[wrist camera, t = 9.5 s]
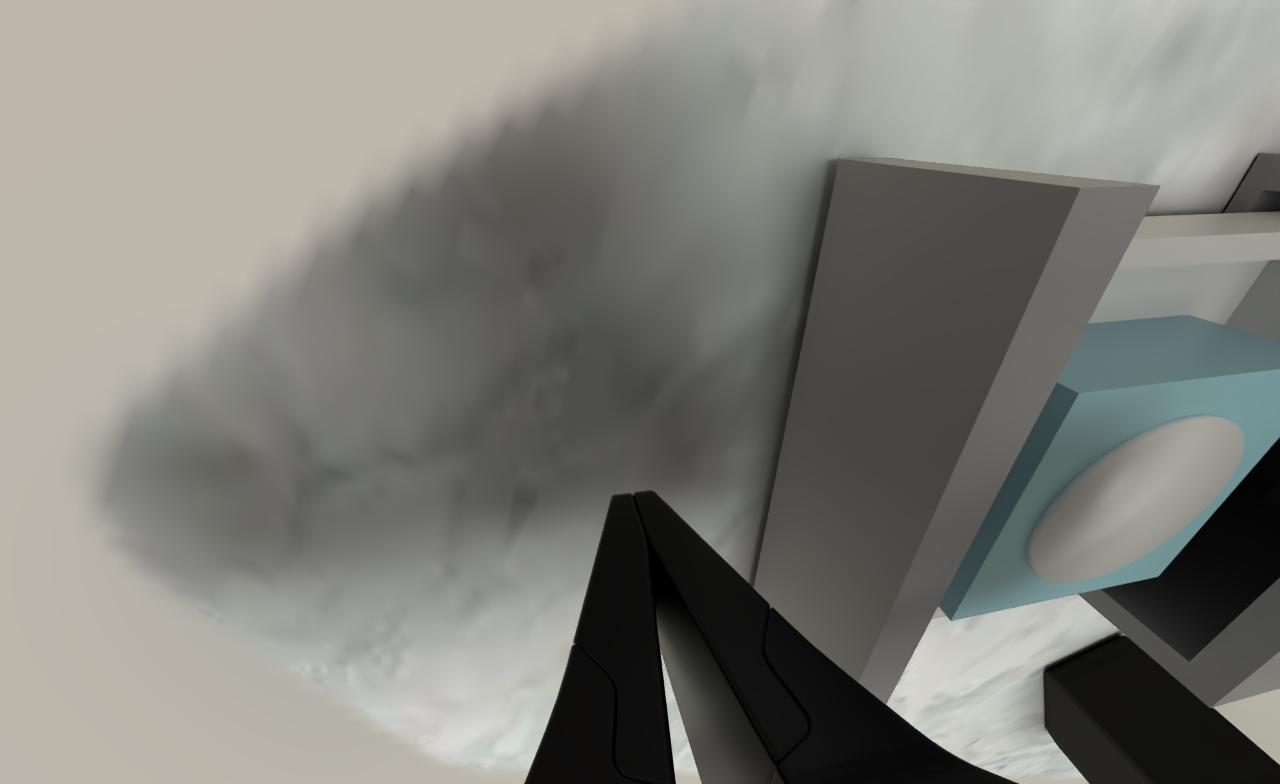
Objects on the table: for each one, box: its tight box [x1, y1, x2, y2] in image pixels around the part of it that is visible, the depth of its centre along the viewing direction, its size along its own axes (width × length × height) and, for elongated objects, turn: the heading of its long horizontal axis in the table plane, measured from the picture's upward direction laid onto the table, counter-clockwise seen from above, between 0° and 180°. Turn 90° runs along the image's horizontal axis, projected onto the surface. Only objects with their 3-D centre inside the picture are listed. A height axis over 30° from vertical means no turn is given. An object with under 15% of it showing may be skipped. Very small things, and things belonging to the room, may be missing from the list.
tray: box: [754, 158, 1280, 704], centre depth 10 cm, size 11×12×4 cm
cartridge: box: [939, 315, 1280, 621], centre depth 10 cm, size 6×6×3 cm
